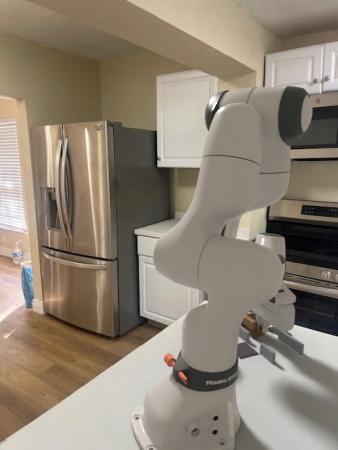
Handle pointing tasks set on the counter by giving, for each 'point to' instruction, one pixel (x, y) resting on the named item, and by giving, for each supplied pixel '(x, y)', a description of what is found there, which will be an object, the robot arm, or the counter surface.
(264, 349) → the rail lane
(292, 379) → the counter surface
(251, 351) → the mats
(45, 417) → the counter surface
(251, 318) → the walnut block
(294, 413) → the counter surface
